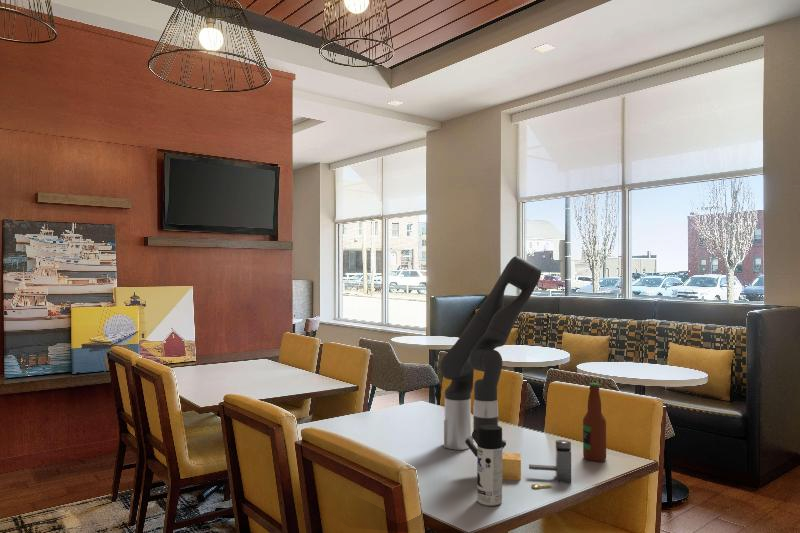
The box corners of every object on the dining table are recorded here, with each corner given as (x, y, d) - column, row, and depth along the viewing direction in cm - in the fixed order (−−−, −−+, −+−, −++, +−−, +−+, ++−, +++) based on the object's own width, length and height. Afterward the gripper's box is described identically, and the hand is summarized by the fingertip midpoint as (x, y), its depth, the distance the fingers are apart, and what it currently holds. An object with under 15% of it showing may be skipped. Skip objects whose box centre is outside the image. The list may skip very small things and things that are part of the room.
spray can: (474, 497, 158) (474, 424, 158) (499, 496, 158) (498, 423, 159) (480, 507, 151) (480, 430, 152) (505, 506, 152) (505, 430, 152)
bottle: (589, 454, 197) (589, 380, 197) (610, 458, 192) (609, 383, 192) (579, 458, 192) (578, 383, 192) (599, 463, 187) (599, 386, 187)
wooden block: (497, 478, 173) (497, 458, 173) (497, 471, 179) (497, 452, 179) (520, 480, 172) (520, 460, 172) (520, 473, 178) (520, 453, 178)
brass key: (533, 489, 164) (533, 487, 164) (530, 486, 166) (530, 484, 166) (552, 488, 165) (552, 486, 165) (549, 485, 167) (549, 483, 167)
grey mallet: (529, 480, 171) (529, 442, 172) (528, 473, 177) (528, 437, 178) (572, 482, 169) (571, 445, 169) (569, 476, 175) (569, 439, 175)
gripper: (463, 415, 175) (463, 473, 174) (507, 417, 172) (507, 476, 172) (465, 410, 182) (465, 465, 182) (507, 412, 179) (507, 468, 179)
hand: (485, 470), depth 177 cm, fingers closed
